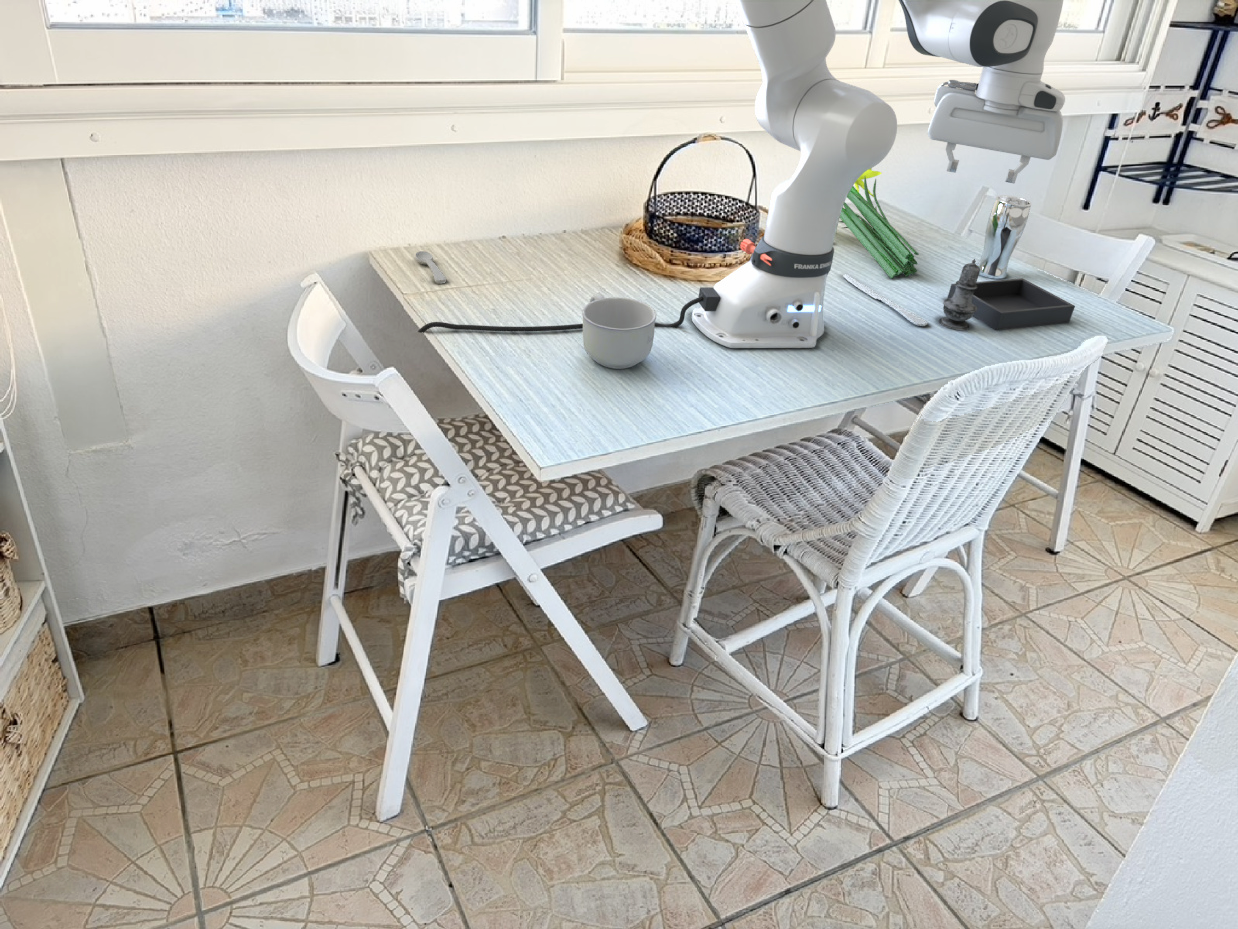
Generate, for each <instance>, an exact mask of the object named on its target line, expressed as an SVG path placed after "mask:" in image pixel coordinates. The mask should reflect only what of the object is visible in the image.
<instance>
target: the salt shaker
mask: <svg viewBox="0 0 1238 929" xmlns="http://www.w3.org/2000/svg"><path fill="white" fill-rule="evenodd" d="M976 262H977V260H976V259H975V258H974V259H973V260H971V262H969V263H966V264H964V265H963V266H962V269H961V273H960V275H959V278H958V280H957V281H955V284H956V285H957V287H956V290H955V293H954V295H953V297H952V298H950V299H947V298H946V299H944V300H942V304H943V307H942V308H943V313H944V315H945V316H944V317H943V316H942V317H941V318H939V319H938V322H939V324H940V325H942V326H943V327H945V328H946V329H950V330H955V331H968V330H969V329H970V327H971V326H970V324H969V323H968V322H967V321H968V320H970V319H971V318H972V317H973V315H974V312H976V311H977V307H976V306H975V305H974V304H972V296H973V293H974V290H975V289H976V288H977V285H976V282H978V279H979V273H980V268H979V266H977V265H978V264H977V263H976Z"/></svg>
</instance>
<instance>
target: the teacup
mask: <svg viewBox="0 0 1238 929" xmlns="http://www.w3.org/2000/svg"><path fill="white" fill-rule="evenodd" d="M581 315H582V324H583V328H582V342H583V347H584V350H585V352H586V354H587V356H589V357H590V359H592V360H594V361H595V362H596V363H597V364H598V365H601V366H603V367H605V368H609V369H614V370H615V369H616V370H621V369H622V370H623V369H628V368H632V367H634V366H636V365H638V364H639V363H641V362H643V361H644V360H646V358H647V357H648V356H649V355H650V354H651V350H652V348H653V344H654V337H655V327H656V326H655V323H656V320H657V313H656V310H655V309H654V308H653V307H652V306H651V305H650V304H648V303H646V302H644V301H642V300H638V299H634V298H629V297H618V296H615V297H605V296H604V295H603V294H601V293H596V294H593V295H592V296H591V297H590V299H589V303H587V304H586V305H584V307H583V308H582V312H581Z"/></svg>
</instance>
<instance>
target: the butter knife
mask: <svg viewBox="0 0 1238 929" xmlns="http://www.w3.org/2000/svg"><path fill="white" fill-rule="evenodd" d="M842 277H843V278H844V279H845V280H846V281H847V282H849V283H851V284H852V285H853V286H855V288H857V289H859V290H861V291H862V292H864V293H865V294H866V295H868V296H870V297H871V298H873V299H875V300H879V301H881V302H883V303H884V304H885V305H887V306H889V307H890V308H891V309H893V310H895V311H896V312H897V313H899V315H901V316H903V317H904V318H905V319H906V320H907V321H909V322H910V323H911V324H913V325H915V326H917V327H925V326H927V325H928V324H929V323H928V321H927V320H926V319H923V317H920V316H918V315H917V314H914V313H913V312H911V311H909V310H907V309H906V308H903V307H902V306H900V305H898V304H897V303H895V302H894V301H892V300H891V299H889V298H886V297H884V296H883V295H882V294H879V293H878V292H876V291H874V290H873V289H872V288H870V287H869V286H867V285H866V284H864V283H862V282H861V281H858V280H857V279H856V278H855V277H852V276H851V275H849V274H847V273H844V274H842Z"/></svg>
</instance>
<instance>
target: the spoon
mask: <svg viewBox="0 0 1238 929" xmlns="http://www.w3.org/2000/svg"><path fill="white" fill-rule="evenodd" d="M414 258H415V261H417V262H418V264H421V265H427V266H428V267H429V269H430V270H431V273H432V275H433V279H434V282H435V284H437V285H442V284H445V283H446V282H447V278H446V276H445V275H444V274H443V273H442V271H441V270H440V269H439V267H438V266H437V264H436V263H435V262H434V256H433V255H432V254H431V253H430V252H428V251H424V250H421V251H417V252H416V253H415V255H414Z"/></svg>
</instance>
